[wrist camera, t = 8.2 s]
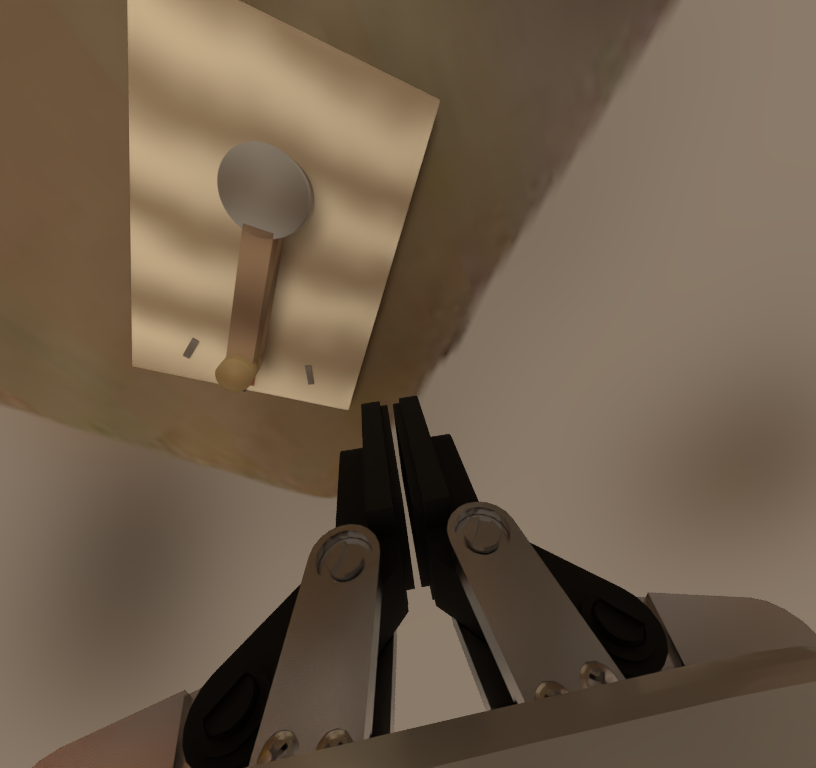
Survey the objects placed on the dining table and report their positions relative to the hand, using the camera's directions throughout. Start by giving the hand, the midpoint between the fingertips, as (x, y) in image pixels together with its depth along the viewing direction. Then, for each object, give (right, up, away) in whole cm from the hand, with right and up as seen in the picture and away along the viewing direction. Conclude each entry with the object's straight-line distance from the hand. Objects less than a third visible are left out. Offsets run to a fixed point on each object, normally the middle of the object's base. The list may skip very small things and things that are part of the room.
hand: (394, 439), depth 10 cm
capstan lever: (-11, +9, +15) cm, 21 cm away
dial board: (-10, +13, +17) cm, 24 cm away
